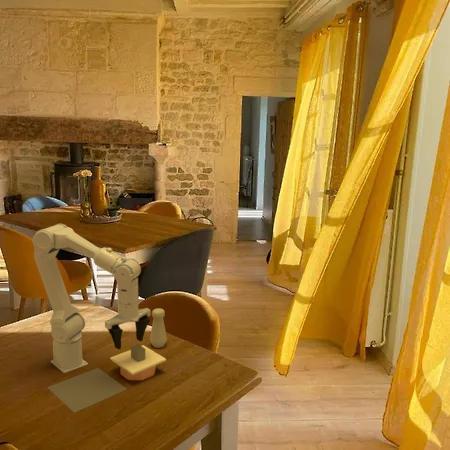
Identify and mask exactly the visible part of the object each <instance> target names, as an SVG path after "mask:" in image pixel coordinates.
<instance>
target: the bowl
mask: <svg viewBox="0 0 450 450" xmlns="http://www.w3.org/2000/svg"><path fill="white" fill-rule="evenodd" d="M119 367H120V366H119ZM156 369H157V365H155V366H153V367H150V368H148V369H146V370H143V371H141V372H138V373H136V374H134V375H132V374H130V373H129V372H128V371H126V370H125V369H123V368H122V367H120V370H119V371H120V375H121V376H122V377H124V378H125V379H126V380H128V381H144V380H146V379H149V378H151V377H154V376H155V373H156Z"/></svg>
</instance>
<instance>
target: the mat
mask: <svg viewBox="0 0 450 450" xmlns="http://www.w3.org/2000/svg"><path fill="white" fill-rule="evenodd" d="M46 388H47V389H48V390H49V391H50V392H51V393H52V394H53V395H54V396H56V397H57V398H58V400H60V401H61V402H62V403H63V404H64V405H65V406H66V407H67V408H68V409H70V411H71V412H72V413H74V414H75V413H77V412H79V411H82V410H83V409H84V410H85V409H87V408H89V407H91V406H93V405H96V404H97V403H100V402H102V401H105V400H106V399H108V398H111V397H113V396H115V395H117V394H120V393H121V392H124V391H127V390H128V389H127V388H126V387H125V386H124V385H122V384H120V382H118V381H117V380H115V379H114V378H113V377H112V376H110V375H109V374H107V372H105V371H103V370H102V369H100V367H97V368H93V369H91V370H89V371H86V372H83V373H80V374H78V375H76V376H73V377H70V378H68V379H66V380H65V379H64V380H63V381H60V382H57V383H54V384H52V385H49V386H48V387H46Z"/></svg>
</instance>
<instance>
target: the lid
mask: <svg viewBox="0 0 450 450" xmlns="http://www.w3.org/2000/svg"><path fill="white" fill-rule="evenodd" d="M109 359H110V361H112V362H113V363H114V364H116V365H117V366H119V367H122V368H123V369H125V370H126V371H128V372H129V373H130V374H132V375H134V374H136V373H138V372H141V371H143V370H146V369H148V368H150V367H153V366H155V365H156V366H157V365H160V364H162V363H165V362H166V361H167V358H165V356H162V355H160V354H159V353H156V351H154V350H152V349H150V348H149V347H147V346H145V345H144V344H143V345H140V344H139V343H137V344H134V345H132V346H130V350H127V351H123V352H121V353H119V354H116V355H114V356H113V355H112V356H111V357H110V358H109Z"/></svg>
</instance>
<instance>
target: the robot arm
mask: <svg viewBox="0 0 450 450" xmlns="http://www.w3.org/2000/svg"><path fill="white" fill-rule="evenodd" d="M31 242H32V245H33V249H34V250H33V259H34V261H35V264H36V267H37V270H38V273H39V275H40V279H41V282H42V284H43V286H44V289H45V292H46V295H47V297H48V301H49V303H50V306H51V309H52V315H51V318H50V320H49V323H50V327H51V329H50V333H51V337H52V338H53V341H52V356H53V357H52V358H53V359H52V360H50V363H51V364H53V365H54V366H55V367H56V368H57V369H59V370H60V371H61V372H62V373H63V374H66V373H69V372H71V371H74V370H76V369H80V368H82V367H84V366H87V365H89V363H88V362H87V361H86V360H84V359H83V346H82V345H83V344H82V341H83V340H82V334H83V333H82V332H83V330H84V329H85V327H86V320H85V317H84V316H83V315H82V314H81V312H80V311H79V308H78V307H77V306H74V305H72V303H71V299H70V296H69V294H68V291H67V288H66V285H65V283H64V280H63V277H62V274H61V270H60V269H59V266H58V263H57V260H56V257H57V255H58V253H59V251H60V249H66V248H71V249H72V250H75V251H76V252H78V253H80V254H83V255H85V256H86V257H89V258H91V259H92V260H93V263H94V265H95V266H97V267H99V268H101V269H102V270H103V271H106V272H107V273H110V275H113V276H114V279H115V281H116V283H117V305H118V306H117V307H118V313H117V314H115V316H113V317H111V318H109V319H107V320H104V327H105V328H106V329H107V330H108V333H109V334H110V337H111V338H112V341H113V345H114V348H115V349H116V350H121V349H122V334H123V331H124V329H123V328H121V327H120V325H123V324H126V323H130V322H132V323H135V336H136V337H135V339H136V340H137V341H139V342H143V340H144V335H145V333H146V329H147V327H148V325H149V324H150V322H151V319H150V316H152V311H151V309H150V308H148V307H145V308H139V275H140V274H141V272H142V267H141V264H140V263H139V261H137V260H136V259H135V258H127V257H126V256H124V255H123V256H122V255H120V254H118V253H116V252H114V251H113V248H111V247H102V248H100V247H98V246H96V245H95V244H93V243H91V242H90V241H88V240H87V239H85V238H83V236H81V235H79V234H78V233H76V232H75V231H74V229H73V228H71V227H68V226H67V225H66V224H63V223H56V224H54V225H52V226H49V227H45V228H43V229H39V230H37V231H36V232H35V234H34V235H33V237H32V239H31Z"/></svg>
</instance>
